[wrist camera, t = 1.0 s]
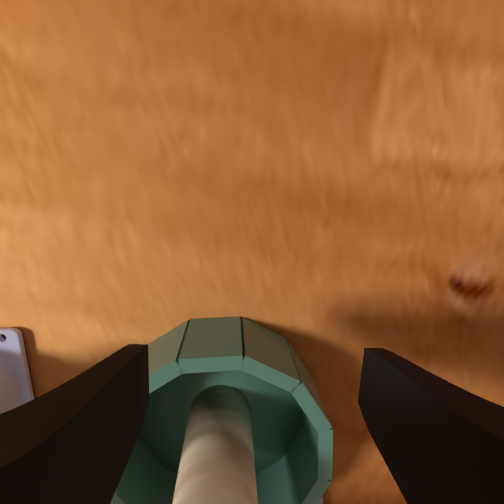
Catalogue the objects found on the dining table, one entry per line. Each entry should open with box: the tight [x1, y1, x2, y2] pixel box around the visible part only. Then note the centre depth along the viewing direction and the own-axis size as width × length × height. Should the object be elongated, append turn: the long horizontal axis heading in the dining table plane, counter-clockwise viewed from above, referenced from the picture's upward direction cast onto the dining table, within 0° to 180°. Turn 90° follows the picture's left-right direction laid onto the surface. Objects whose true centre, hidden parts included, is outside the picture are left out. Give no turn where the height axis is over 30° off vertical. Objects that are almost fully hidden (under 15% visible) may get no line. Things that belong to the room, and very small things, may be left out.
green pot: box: [110, 317, 333, 504], centre depth 21 cm, size 13×13×5 cm
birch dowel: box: [172, 385, 258, 504], centre depth 18 cm, size 4×4×9 cm
